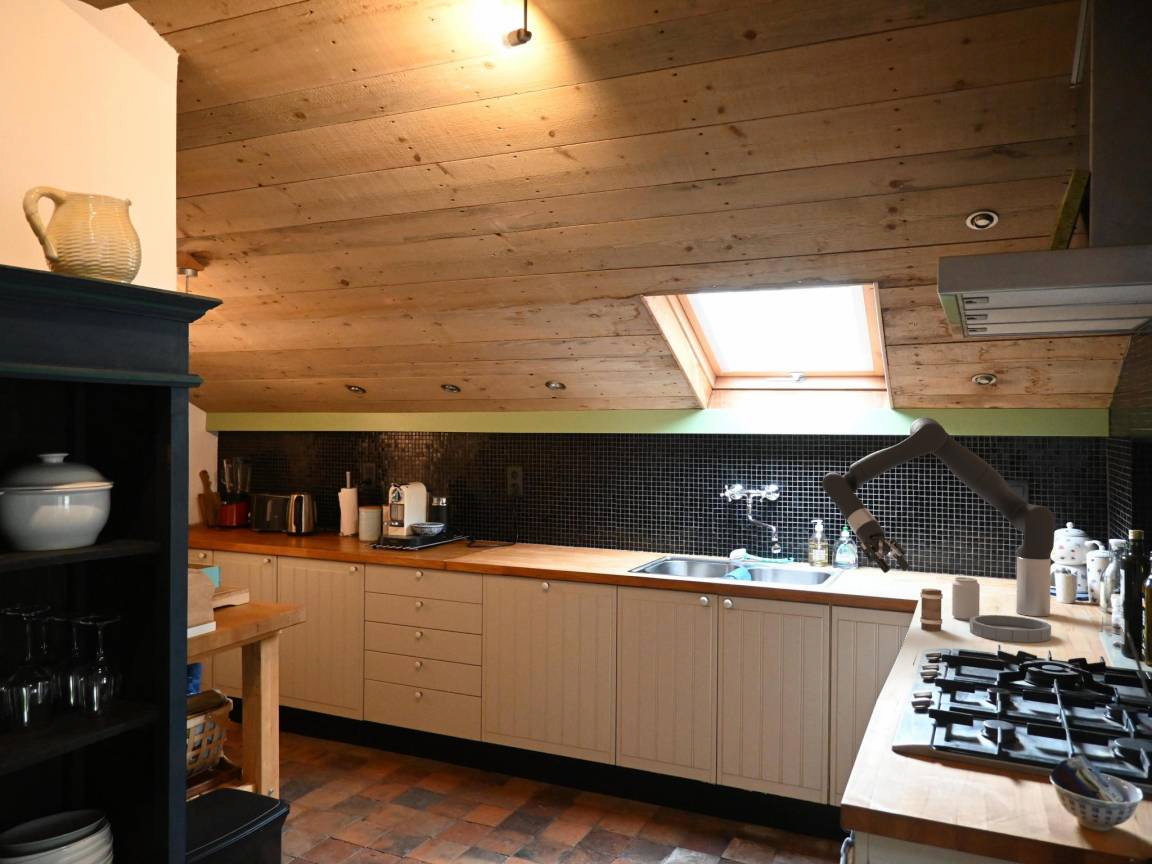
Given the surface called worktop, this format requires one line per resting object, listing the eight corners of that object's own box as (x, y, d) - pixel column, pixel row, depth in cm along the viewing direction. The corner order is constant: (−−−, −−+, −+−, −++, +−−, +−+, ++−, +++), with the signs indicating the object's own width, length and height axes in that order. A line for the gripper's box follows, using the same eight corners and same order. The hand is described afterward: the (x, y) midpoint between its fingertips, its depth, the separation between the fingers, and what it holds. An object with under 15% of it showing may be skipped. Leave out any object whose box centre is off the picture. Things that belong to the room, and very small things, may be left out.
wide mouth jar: (946, 617, 271) (946, 577, 271) (965, 615, 274) (965, 575, 274) (966, 622, 264) (966, 580, 264) (985, 620, 267) (985, 579, 267)
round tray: (962, 624, 259) (962, 613, 259) (1037, 628, 256) (1037, 616, 256) (979, 640, 240) (979, 628, 240) (1061, 644, 236) (1061, 632, 236)
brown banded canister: (918, 626, 257) (918, 587, 257) (940, 627, 256) (940, 588, 256) (922, 631, 251) (922, 591, 251) (944, 632, 250) (944, 592, 250)
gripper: (857, 520, 267) (889, 563, 257) (888, 517, 274) (920, 560, 265) (842, 536, 271) (873, 579, 262) (874, 533, 279) (905, 576, 269)
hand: (897, 570), depth 263 cm, fingers open, 8 cm apart
